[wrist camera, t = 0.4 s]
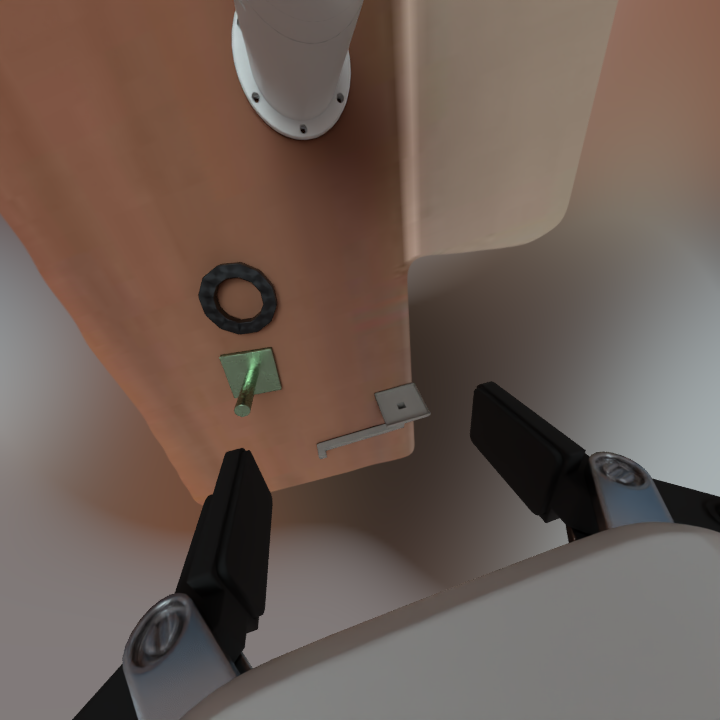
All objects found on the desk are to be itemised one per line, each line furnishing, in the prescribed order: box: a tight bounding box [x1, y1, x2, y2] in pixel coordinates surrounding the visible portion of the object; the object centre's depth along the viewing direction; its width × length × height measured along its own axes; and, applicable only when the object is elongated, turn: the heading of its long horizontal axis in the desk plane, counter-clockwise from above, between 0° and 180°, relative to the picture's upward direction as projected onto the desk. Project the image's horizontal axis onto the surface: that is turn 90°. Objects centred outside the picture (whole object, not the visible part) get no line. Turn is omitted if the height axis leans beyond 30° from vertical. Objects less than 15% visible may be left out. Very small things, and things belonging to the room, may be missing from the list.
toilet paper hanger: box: [317, 383, 430, 459], centre depth 52 cm, size 23×9×8 cm, turn 99°
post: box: [219, 347, 282, 417], centre depth 39 cm, size 8×8×11 cm
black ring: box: [198, 262, 277, 334], centre depth 38 cm, size 10×10×2 cm
